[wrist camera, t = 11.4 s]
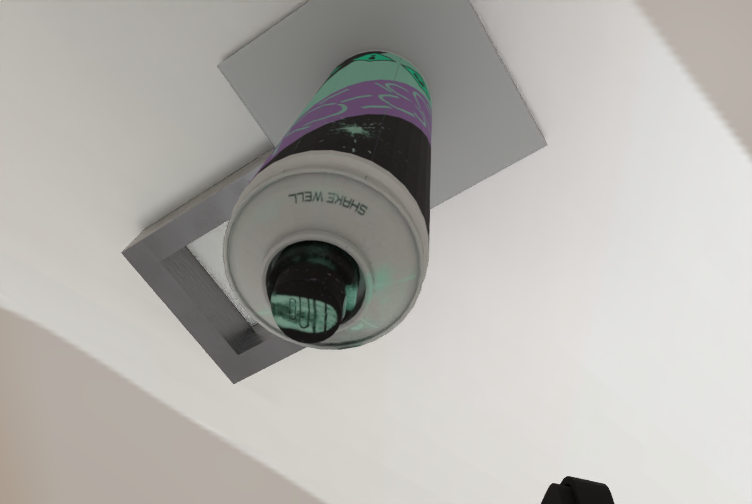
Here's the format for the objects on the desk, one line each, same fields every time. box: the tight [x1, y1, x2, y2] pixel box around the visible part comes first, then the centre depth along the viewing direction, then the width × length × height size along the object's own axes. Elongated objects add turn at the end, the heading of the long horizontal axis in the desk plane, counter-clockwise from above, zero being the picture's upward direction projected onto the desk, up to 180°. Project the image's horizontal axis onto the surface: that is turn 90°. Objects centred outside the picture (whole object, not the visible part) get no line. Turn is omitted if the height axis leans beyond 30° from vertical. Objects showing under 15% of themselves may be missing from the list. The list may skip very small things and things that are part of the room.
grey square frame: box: [121, 147, 306, 384], centre depth 37 cm, size 10×10×3 cm
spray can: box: [223, 49, 432, 350], centre depth 24 cm, size 6×6×20 cm
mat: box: [217, 0, 547, 209], centre depth 33 cm, size 12×12×1 cm
